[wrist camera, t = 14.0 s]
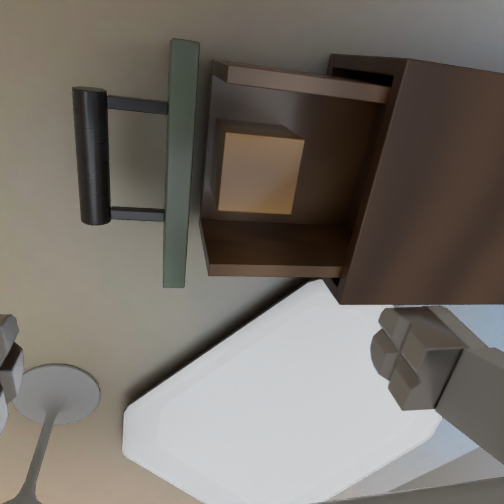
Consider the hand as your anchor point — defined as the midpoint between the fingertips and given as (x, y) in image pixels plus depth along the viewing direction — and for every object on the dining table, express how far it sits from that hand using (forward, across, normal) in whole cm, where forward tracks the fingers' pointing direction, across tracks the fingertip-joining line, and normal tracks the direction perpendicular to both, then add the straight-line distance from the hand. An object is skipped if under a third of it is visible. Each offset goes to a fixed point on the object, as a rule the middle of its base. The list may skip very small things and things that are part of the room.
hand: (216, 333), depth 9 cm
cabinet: (+21, -17, +1) cm, 27 cm away
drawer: (+20, -4, +1) cm, 20 cm away
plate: (+21, -13, +28) cm, 37 cm away
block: (+19, -4, 0) cm, 19 cm away
